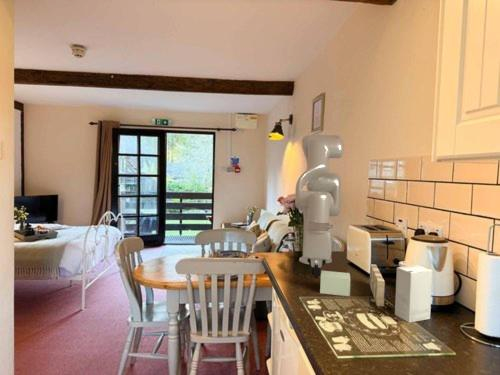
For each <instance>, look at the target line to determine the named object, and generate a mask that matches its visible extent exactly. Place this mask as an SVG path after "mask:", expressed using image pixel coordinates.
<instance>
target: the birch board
mask: <svg viewBox="0 0 500 375" xmlns="http://www.w3.org/2000/svg"><path fill="white" fill-rule="evenodd" d="M369 270H370V271H369V273H370V274H369V287H370V290H371V293H372V295H373V299H374V302H375V304H376V306H377V307H384V305H385V285H386V282H385V280H384V278H383V276H382V273H381V272H380V269H379V268H378V266H377V264H373V263H371V264H370V269H369Z"/></svg>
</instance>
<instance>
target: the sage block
mask: <svg viewBox="0 0 500 375" xmlns="http://www.w3.org/2000/svg"><path fill="white" fill-rule="evenodd" d="M319 292H320V293H319V294H326V295H332V296H333V295H335V296H344V297H350V296H351V274H350V272H340V271H333V270H331V271H330V270H321V272H320V289H319Z"/></svg>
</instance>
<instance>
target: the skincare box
mask: <svg viewBox="0 0 500 375" xmlns="http://www.w3.org/2000/svg"><path fill="white" fill-rule="evenodd" d="M432 285H433V270H432V269H429V268H427V267H423V266H421V265H419V264H417V265H414V266H406V267H400V266H399V267H396V280H395V302H394V304H395V305H394V316H396V317H399V318H400V319H401V320H403V321H404V322H407V323H409V324H410V323H415V322H420V321H426V320H430V319H431V309H432V306H431V305H432Z"/></svg>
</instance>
